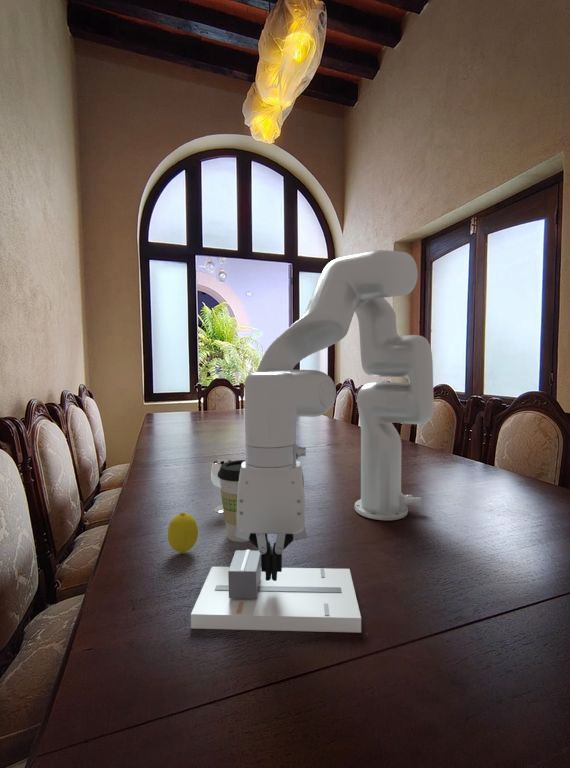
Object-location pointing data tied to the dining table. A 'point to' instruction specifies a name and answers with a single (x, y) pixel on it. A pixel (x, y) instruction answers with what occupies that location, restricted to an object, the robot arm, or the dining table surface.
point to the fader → (244, 574)
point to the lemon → (182, 532)
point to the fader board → (281, 602)
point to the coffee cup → (230, 496)
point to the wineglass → (217, 479)
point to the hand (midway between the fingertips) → (271, 575)
